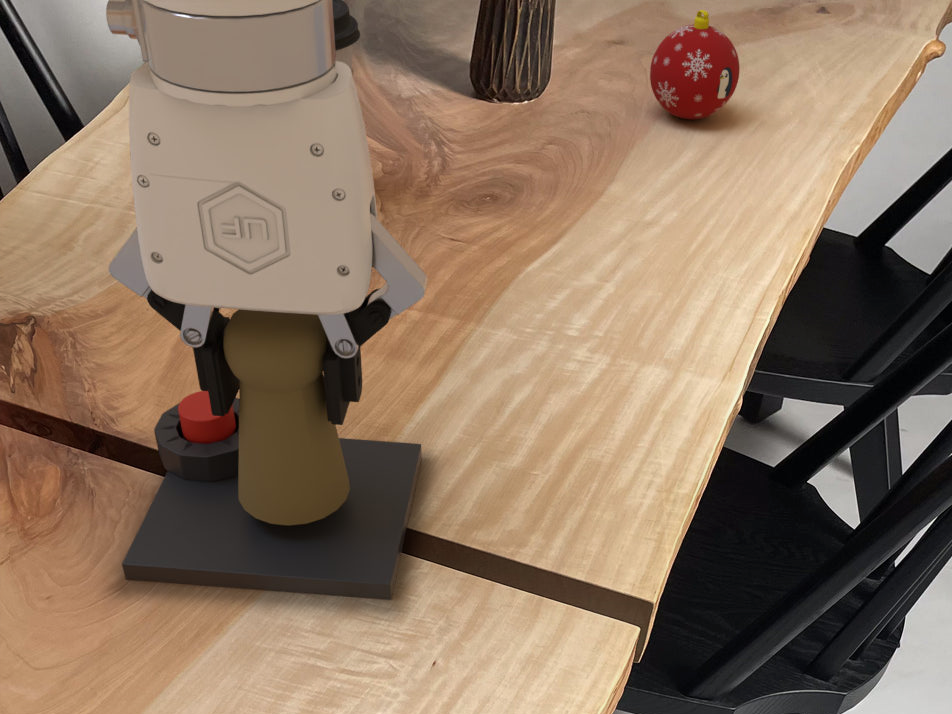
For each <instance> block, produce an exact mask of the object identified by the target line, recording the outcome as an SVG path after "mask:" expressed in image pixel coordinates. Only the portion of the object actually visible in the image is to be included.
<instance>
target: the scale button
mask: <svg viewBox="0 0 952 714" xmlns="http://www.w3.org/2000/svg"><path fill="white" fill-rule="evenodd" d="M179 403H180V404H179ZM179 403H178V404H179V406H178V412H179V417H180V422H181V427H182V432H183V435H184V437H185V438H186V439H187V440H188V441H189V442H191V443H201V444H210V443H214V442H219V441H223V440H226V439H227V438H229V437H230V436H232V435H233V434H234V432H235V429H236V423H235V417H234V410H233V404H232V406H231V409H230V411H229V413H228V414H225V415H224V416H213V415H212V411H211V405H210V399H209V393H208V391H202V390H199V391H197V392H193V393H191V394H189V395H187V396H185V397H183V398H182V399H181V400H180V401H179Z"/></svg>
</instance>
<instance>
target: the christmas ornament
mask: <svg viewBox="0 0 952 714" xmlns="http://www.w3.org/2000/svg"><path fill="white" fill-rule="evenodd" d="M702 14H703V15H702ZM709 24H710V18H709V12H708V11H707V10H704V9H699V10H698V11H697V12H696V17H695V18H694V21H693V24H687V25H684V26H681V27H678V28H677V29H675V30H673V31H672V32H670V33H669V34H668V35H667V36H665V37H664V38H663V39H662V41H661V42H660V43H659V44H658V46H657V48H656V50H655V52H654V53H653V55H652V59H651V63H650V67H649V80H650V87H651V90H652V93H653V95H654V97H655V99H656V101H657V102H658V103H659V105H660V106H661V107H662V108H663V109H664V111H666V112H668V113H669V114H670V115H672V116H675V117H678V118H680V119H684V120H701V119H704V118H708V117H710V116H712V115H714V114H716V113H718V111H720V110H721V109H723V108H724V106H726V105H727V103H728V102H729V101H730V100H731V98H732V96H733V95H734V93H735V91H736V88H737V86H738V83H739V79H740V59H739V55H738V51H737V50H736V47H735V46H734V43H732V41H731V39H730V38H729V37H728V36H727V35H726V34H725V33H724V32H722V31H721V30H719V29H718V28H715V27H714V26H711V25H709Z"/></svg>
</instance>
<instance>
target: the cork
mask: <svg viewBox="0 0 952 714" xmlns="http://www.w3.org/2000/svg"><path fill="white" fill-rule="evenodd" d="M229 319H230V320H229V322H228V324H227V325H226V327H225V329H224V337H223V349H224V354H225V359H226V361H227V363H228V365H229V367H230V369H231V370H232V372H233V373H234V375H235V376H236V377H237V378H238V379H239V380H240V381H239V391H238V395H239V397H238V398H239V471H238V495H239V501H240V503H241V505H242V506H243V508H244V510H245V511H247V512H248V513H249V514H251V515H252V516H253V517H255V518H256V519H259V520H262V521H265V522H268V523H270V524H279V525H298V524H307V523H310V522H313V521H316V520H320V519H323V518H325V517H326V516H328V515H330V514H331V513H333V512H335V511H336V510H338V508H339V507H340V506H341V505H342V504H343V503H344V502H345V501H346V499H347V496H348V493H349V490H350V485H349V478H348V474H347V470H346V466H345V462H344V458H343V454H342V449H341V445H340V441H339V438H340V437H339V433H338V430H337V429H338V428H337V425H334V424H332V423H331V422H330V421H328V418H327V407H326V396H325V384H324V373H323V358H324V355H325V352H326V349H327V347H328V345H329V343H328V341H329V340H328V337H327V335H326V333H325V330H324V328H323V326H322V324H321V321H320V319H319V317H318V315H316V314H298V313H283V312H268V311H254V310H240V309H236V311H234V312H233V313H232V315H231V316H230V317H229Z"/></svg>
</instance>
